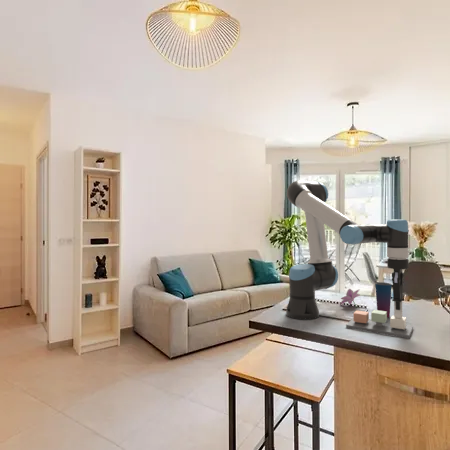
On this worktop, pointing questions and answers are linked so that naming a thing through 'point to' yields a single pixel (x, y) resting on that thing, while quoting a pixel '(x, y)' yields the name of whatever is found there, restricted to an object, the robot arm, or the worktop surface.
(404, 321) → the cream key
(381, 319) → the sage key
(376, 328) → the board
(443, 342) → the worktop surface
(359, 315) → the terracotta key
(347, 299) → the lily
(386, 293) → the cup
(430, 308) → the worktop surface
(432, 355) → the worktop surface
